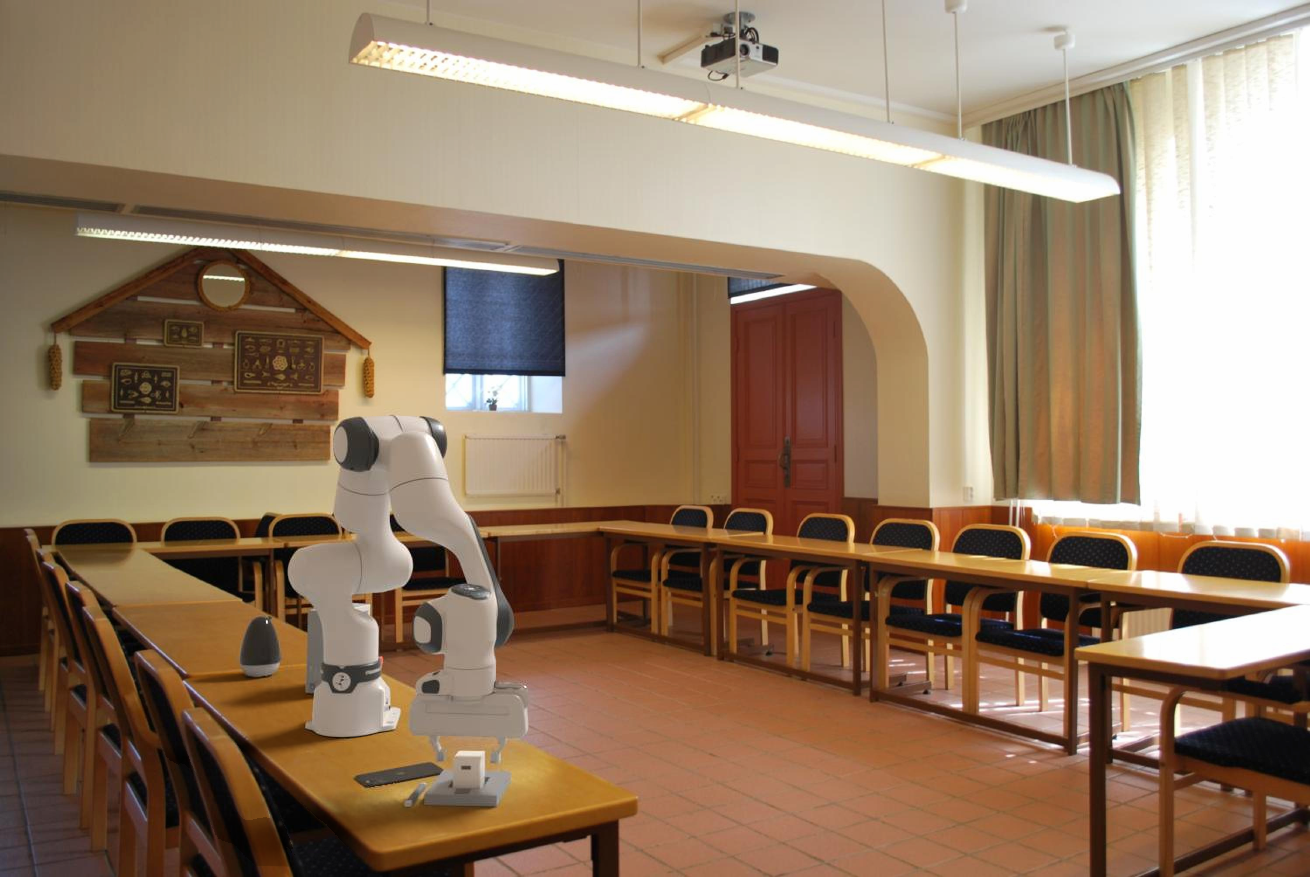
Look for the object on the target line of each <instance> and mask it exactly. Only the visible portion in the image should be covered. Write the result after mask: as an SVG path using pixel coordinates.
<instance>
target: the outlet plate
mask: <svg viewBox="0 0 1310 877" xmlns="http://www.w3.org/2000/svg"><path fill="white" fill-rule="evenodd" d="M511 782H512V771H510V770H485V786H484V787H483V788H453V769H444V770H443V771H442V773H441V774H440V775H437V777H436V778H435V780H434V781H433V783H432V784H431V785H430V786H429V788H428V789H427V790H426V791H425V793H424V797H423V799H424V804H423V805H424V806H445V807H446V806H450V807H452V806H453V807H454V806H455V807H456V806H457V807H497V806H498V805H499V803H500V802H501V800H502V798H503V796H504V795H505V792H506V791H507V788H508V787H509V785H510V783H511Z"/></svg>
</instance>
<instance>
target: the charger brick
mask: <svg viewBox="0 0 1310 877" xmlns="http://www.w3.org/2000/svg"><path fill="white" fill-rule="evenodd" d="M452 770H453V788H483V787H484V786H485V771H486V751H485V750H458V751H457V753H456V754H455V755H454V756H453V758H452Z"/></svg>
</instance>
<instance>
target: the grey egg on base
mask: <svg viewBox="0 0 1310 877" xmlns="http://www.w3.org/2000/svg"><path fill="white" fill-rule="evenodd" d="M272 618H273V617H272V616H271V615H269V616H264V615H259V616H255V617H254V618H252V619H251V620H250V622H249V623H248V625H247V627H246V630H245V632H244V634H243V638H242V641H241V645H240V649H239V657H238V663H239V664H240V669H241V671H242V672H243V674H245V675H246V676H248V677H250V676H252V677H251V678H262V677H261V676H266V677H269V676H271V675H273V674H274V673H275V672H276V671H277V670H278V668H279V666H280V663H281V661H282V650H281V646H280V644H281V643H280V640H279V636H278V633H277V631H276V628H275V625H274V623H273V622H272ZM268 675H269V676H268ZM253 676H254V677H253Z"/></svg>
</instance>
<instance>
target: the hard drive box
mask: <svg viewBox="0 0 1310 877" xmlns="http://www.w3.org/2000/svg"><path fill="white" fill-rule="evenodd" d="M352 603H353V606H354V608H355V609H358V610H360V611H362V612H365V613H367V614H369V615H370V616H371V604H370V603H357V602H356V603H355V602H352ZM306 634H307V637H306V639H307V642H306V643H307V644H306V670H305V671H306V673H305V693H306V694H313V695H314V690H315V688H317V686H319V685H320V684H321V682H322V679H321V663H322V662H323V661H324V649H323V631H322V624H321V621H320V618H319V615H318V613H317V611H316V610H315V608H313V609H309V610H308V611H307V633H306Z"/></svg>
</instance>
